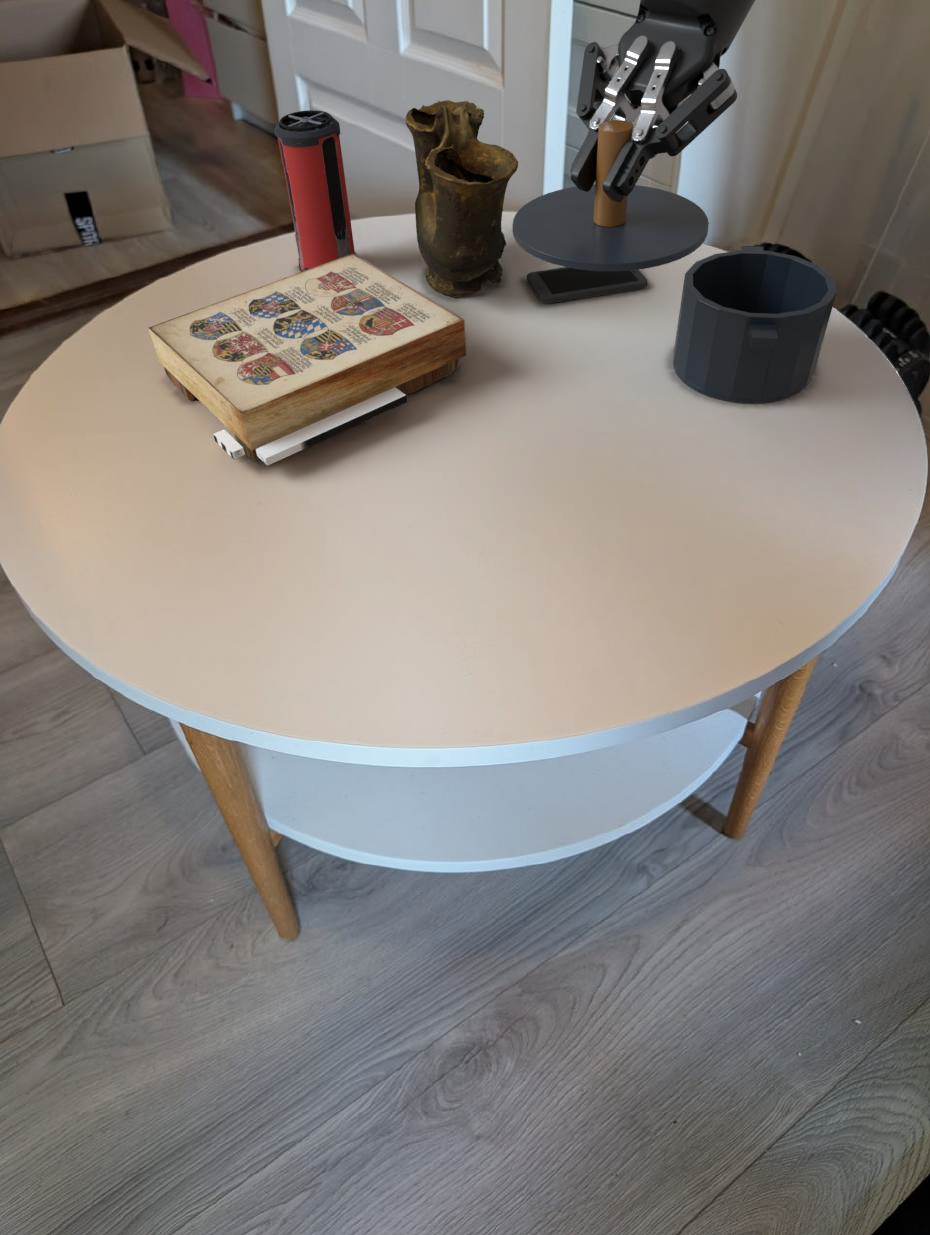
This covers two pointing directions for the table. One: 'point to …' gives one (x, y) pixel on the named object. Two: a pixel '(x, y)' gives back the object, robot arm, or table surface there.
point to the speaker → (315, 186)
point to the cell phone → (582, 283)
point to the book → (309, 355)
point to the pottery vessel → (458, 196)
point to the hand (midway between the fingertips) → (595, 190)
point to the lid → (610, 220)
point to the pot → (752, 325)
